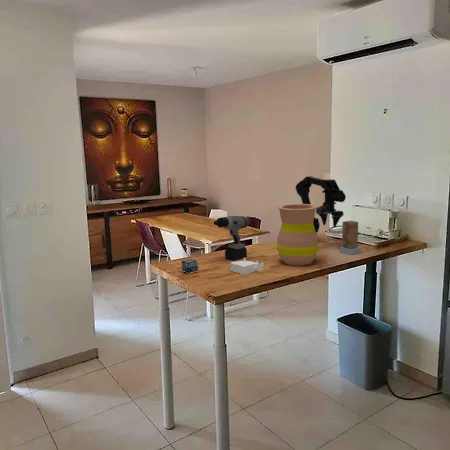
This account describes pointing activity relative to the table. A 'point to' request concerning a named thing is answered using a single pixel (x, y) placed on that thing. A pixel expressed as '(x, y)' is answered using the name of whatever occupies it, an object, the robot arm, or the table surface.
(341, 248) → the plinth
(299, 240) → the vase
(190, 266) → the puzzle
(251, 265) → the white box with fittings
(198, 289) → the table surface
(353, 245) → the post
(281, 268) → the table surface
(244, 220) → the cordless drill
